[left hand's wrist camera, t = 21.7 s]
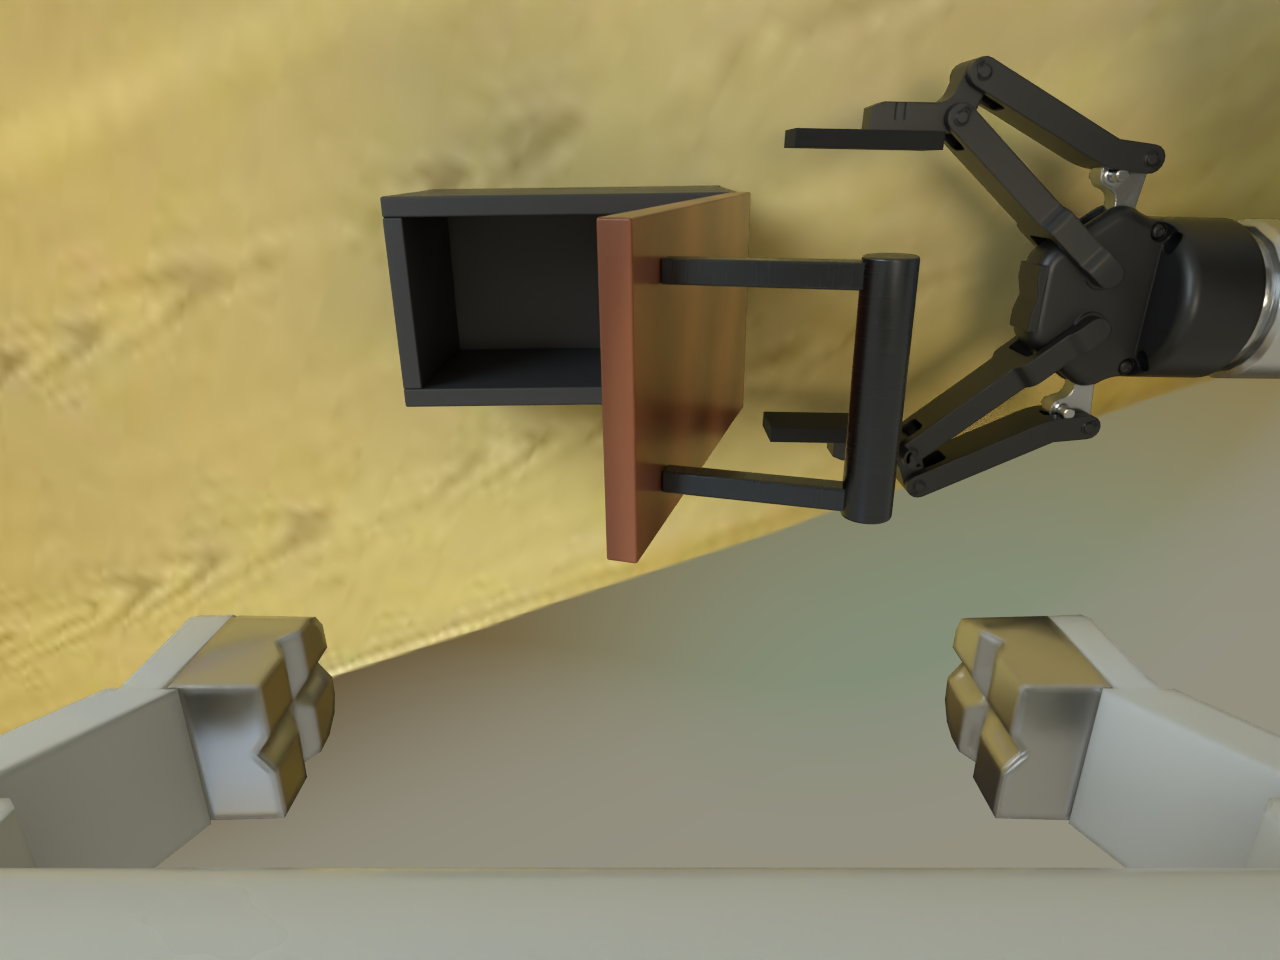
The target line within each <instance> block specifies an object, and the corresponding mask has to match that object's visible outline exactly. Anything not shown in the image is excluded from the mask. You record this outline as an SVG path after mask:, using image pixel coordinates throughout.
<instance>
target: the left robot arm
mask: <svg viewBox="0 0 1280 960" xmlns="http://www.w3.org/2000/svg"><path fill="white" fill-rule="evenodd" d="M326 648H327V644H326V640H325V635H324V630H323V625H322V624H321V623H320V622H319V621H318V619H317V618H316V617H285V616H235V615H207V616H196V617H190V618H189V619H188V620H187V621H186V622H185V623H184V624H183V625H182V626H181V627H180V628H179V629H178V630H177V631H176V632H175V633H174V634H173V635H172V636H171V637H170V638H169V639H168V640H167V641H166V642H165V643H164V644H163V645H162V646H161V647H160V648H159V649H158V650H157V651H156V652H155V653H154V654H153V655H152V656H151V657H150V658H149V659H148V660H147V661H146V662H145V663H144V664H143V665H142V666H141V667H140V668H139V669H138V670H137V671H136V672H135V673H134V674H133V675H132V676H131V677H130V678H129V679H128V680H127V681H126V682H125V683H124V684H123V685H122V686H121V687H120V688H119V689H104V690H102V691H99V692H97V693H95V694H93V695H90V696H88V697H86V698H84V699H81V700H79V701H77V702H74V703H72V704H70V705H68V706H65V707H63V708H61V709H59V710H56V711H54V712H52V713H50V714H47V715H45V716H43V717H40V718H38V719H36V720H34V721H31V722H29V723H27V724H25V725H22V726H20V727H18V728H15V729H13V730H11V731H9V732H6V733H4V734H2V735H0V960H1280V735H1278V734H1275V733H1273V732H1271V731H1269V730H1267V729H1264V728H1262V727H1260V726H1257V725H1255V724H1253V723H1251V722H1248V721H1246V720H1244V719H1242V718H1239V717H1237V716H1235V715H1232V714H1230V713H1228V712H1226V711H1224V710H1221V709H1219V708H1217V707H1214V706H1212V705H1210V704H1208V703H1205V702H1203V701H1201V700H1199V699H1196V698H1194V697H1192V696H1189V695H1187V694H1185V693H1183V692H1180V691H1178V690H1176V689H1161V688H1160V687H1159V686H1158V685H1157V684H1156V683H1155V682H1154V681H1153V680H1152V679H1151V678H1150V677H1149V676H1148V675H1147V674H1146V673H1145V672H1144V671H1143V670H1142V669H1141V668H1140V667H1139V666H1138V665H1137V664H1136V663H1135V662H1134V661H1133V660H1132V659H1131V658H1130V657H1129V656H1128V655H1127V654H1126V653H1125V652H1124V651H1123V650H1122V649H1121V648H1120V647H1119V646H1118V645H1117V644H1116V643H1115V642H1114V641H1113V640H1112V639H1111V638H1110V637H1109V636H1108V635H1107V634H1106V633H1105V632H1104V631H1103V630H1102V629H1101V628H1100V627H1099V626H1098V625H1097V624H1096V623H1095V622H1094V621H1093V620H1092V619H1091V618H1088V617H1086V616H1083V615H1061V616H1028V617H989V618H988V617H987V618H964V619H961V621H960V623H959V625H958V627H957V629H956V633H955V639H954V644H953V648H954V650H955V651H956V653H957V655H958V656H959V658H960V659H961V661H962V663H961V664H960V665H959V666H958V667H957V668H956V669H955V671H953V672H952V674H951V675H950V676H949V677H948V680H947V688H946V696H945V705H946V717H947V723H948V727H949V730H950V733H951V737H952V739H953V741H954V742H955V744H956V746H957V748H958V750H959V752H961V753H962V754H964V755H965V756H967V757H969V758H970V759H972V760H973V761H975V762H976V764H975V769H974V775H973V778H974V780H975V782H976V783H977V785H978V787H979V789H980V791H981V793H982V794H983V796H984V798H985V800H986V802H987V803H988V805H989V807H990V809H991V811H992V812H993V814H994V816H995V818H1013V819H1049V820H1069V824H1070V825H1072V826H1073V827H1074V828H1075V829H1077V830H1078V831H1079V832H1081V833H1082V834H1083V835H1084V836H1086V837H1087V838H1088V839H1089V840H1091V841H1092V842H1093V843H1095V844H1096V845H1097V846H1098V847H1100V848H1101V849H1102V850H1104V851H1105V852H1106V853H1107V854H1109V855H1110V856H1111V857H1112V858H1114V859H1115V860H1116V861H1118V862H1119V863H1120V864H1121V865H1123V866H1124V867H1125V868H155V867H156V866H158V865H159V864H160V863H161V862H163V861H164V860H165V859H167V858H168V857H169V856H170V855H172V854H173V853H174V852H175V851H177V850H178V849H179V848H181V847H182V846H183V845H184V844H186V843H187V842H188V841H189V840H191V839H192V838H193V837H195V836H196V835H197V834H198V833H200V832H201V831H202V830H204V829H205V828H206V827H207V826H209V825H210V824H211V821H210V820H231V819H266V818H285V816H286V814H287V813H288V811H289V809H290V807H291V805H292V803H293V802H294V800H295V798H296V796H297V794H298V793H299V791H300V789H301V787H302V785H303V783H304V782H305V780H306V778H307V775H306V769H305V764H304V762H305V761H307V760H309V759H310V758H312V757H313V756H315V755H316V754H318V753H319V752H321V750H322V748H323V746H324V744H325V742H326V740H327V738H328V736H329V734H330V730H331V725H332V721H333V716H334V705H335V693H334V687H333V680H332V677H331V676H330V675H329V673H328V672H327V671H326V670H325V669H324V668H323V667H322V666H321V665H320V664H319V663H318V661H319V659H320V658H321V656H322V655H323V653H324V651H325V650H326Z"/></svg>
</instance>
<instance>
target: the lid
mask: <svg viewBox="0 0 1280 960" xmlns="http://www.w3.org/2000/svg"><path fill="white" fill-rule="evenodd" d="M750 196H751V194H750V192H730V193H724V194H719V195H714V196H708V197H703V198H698V199H693V200H687V201H682V202H677V203H671V204H666V205H661V206H655V207H650V208H645V209H640V210H634V211H629V212H624V213H618V214H613V215H608V216H603V217H598V218H597V251H598V283H599V315H600V347H601V379H602V411H603V443H604V475H605V507H606V539H607V559H608V560H615V561H623V562H630V563H637V562H638V561H639V559H640V558H641V556H642V555H643V553H644V552H645V550H646V549H647V547H648V546H649V544H650V543H651V541H652V540H653V538H654V537H655V535H656V534H657V533H658V531H659V530H660V528H661V527H662V525H663V524H664V522H665V521H666V519H667V518H668V516H669V515H670V513H671V512H672V510H673V509H674V507H675V506H676V505H677V503H678V502H679V500H680V499H681V497H682V496H683V494H686V495H695V496H704V497H714V498H723V499H733V500H742V501H752V502H761V503H770V504H780V505H789V506H799V507H808V508H817V509H827V510H836V511H840V512H841V514H842V516H843V517H845V518H846V519H848V520H851V521H853V522H857V523H862V524H880V523H884V522H887V521H888V520H889V519H890V518H891V516H892V507H893V498H894V489H895V480H896V471H897V463H898V454H899V445H900V436H901V427H902V418H903V409H904V400H905V391H906V382H907V373H908V364H909V355H910V346H911V337H912V328H913V319H914V310H915V301H916V292H917V283H918V274H919V265H920V257H919V256H917V255H913V254H903V253H872V254H866V255H863V257H862V260H843V259H794V258H748V253H749V225H750ZM747 287H765V288H797V289H830V290H859V299H858V310H857V322H856V334H855V345H854V357H853V369H852V380H851V392H850V404H849V415H848V427H847V439H846V450H845V462H844V474H843V481H834V480H823V479H813V478H803V477H792V476H782V475H771V474H761V473H751V472H740V471H730V470H719V469H709V468H702V466H703V465H704V463H705V462H706V460H707V459H708V457H709V456H710V454H711V453H712V451H713V450H714V448H715V447H716V445H717V444H718V443H719V441H720V440H721V438H722V437H723V435H724V434H725V432H726V431H727V429H728V428H729V426H730V425H731V423H732V422H733V420H734V419H735V417H736V416H737V414H738V413H739V412H740V410H741V409H742V407H743V395H744V366H745V338H746V310H747Z"/></svg>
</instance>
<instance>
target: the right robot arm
mask: <svg viewBox="0 0 1280 960" xmlns="http://www.w3.org/2000/svg"><path fill="white" fill-rule="evenodd" d="M978 106H981V107H983V108H984V109H986V110H987V111H989V112H991V113H992V114H994V115H995V116H997V117H999V118H1000V119H1002V120H1003V121H1005V122H1007V123H1008V124H1010V125H1011V126H1013V127H1015V128H1016V129H1018V130H1019V131H1021V132H1022V133H1024V134H1026V135H1027V136H1029V137H1030V138H1032V139H1034V140H1035V141H1037V142H1038V143H1040V144H1042V145H1043V146H1045V147H1046V148H1048V149H1050V150H1051V151H1053V152H1054V153H1056V154H1058V155H1059V156H1061V157H1062V158H1064V159H1066V160H1067V161H1069V162H1071V163H1073V164H1075V165H1078V166H1081V167H1083V168H1088V169H1092V170H1091V171H1090V173H1089V178H1090V181H1091V183H1092V185H1093V186H1094V187H1096V188H1098V189H1100V190H1101V191H1102V192H1103V193H1104V196H1105V202H1104V205H1103V206H1100V207H1097V208H1095V209H1094V210H1092V211H1090V212H1089V213H1087V214H1086V215H1084V216H1083V217H1081V218H1080V219H1078V218H1077V217H1076V216H1075V215H1074V214H1073V213H1072V212H1071V211H1070V210H1069V209H1067V208H1065V207H1063V206H1062V205H1061V204H1060V203H1059V202H1058V201H1057V200H1056V199H1055V198H1054V197H1053V196H1052V194H1051V193H1050V192H1049V191H1048V190H1047V189H1046V188H1045V187H1044V185H1043V184H1042V183H1041V182H1040V181H1039V180H1038V179H1037V178H1036V177H1035V175H1034V174H1033V173H1032V172H1031V171H1030V170H1029V169H1028V168H1027V166H1026V165H1025V164H1024V163H1023V162H1022V161H1021V160H1020V159H1019V158H1018V156H1017V155H1016V154H1015V153H1014V152H1013V151H1012V150H1011V149H1010V147H1009V146H1008V145H1007V144H1006V143H1005V142H1004V141H1003V140H1002V139H1001V137H1000V136H999V135H998V134H997V133H996V132H995V131H994V130H993V128H992V127H991V126H990V125H989V124H988V123H987V122H986V121H985V120H984V118H983V117H982V116H981V115H980V114H979V113H978V112H977V111H976V110H977V108H978ZM944 144H945V145H946V146H947V147H948V148H949V149H950V150H951V152H952V153H953V154H954V155H955V156H956V157H957V158H958V159H959V160H960V161H961V162H962V164H963V165H964V166H965V167H966V168H967V169H968V170H969V171H970V172H971V173H972V174H973V175H974V177H975V178H976V179H977V180H978V181H979V182H980V183H981V184H982V185H983V186H984V187H985V188H986V190H987V191H988V192H989V193H990V194H991V195H992V196H993V197H994V198H995V199H996V200H997V202H998V203H999V204H1000V205H1001V206H1002V207H1003V208H1004V209H1005V210H1006V211H1007V212H1008V213H1009V215H1010V216H1011V217H1012V218H1013V219H1014V220H1015V221H1016V223H1017V227H1018V228H1019V229H1020V231H1021V232H1022V233H1023V234H1024V235H1025V236H1026V237H1027V238H1028V239H1029V240H1030V241H1031V243H1032V244H1033V245H1034V246H1035V247H1036V248H1035V249H1034V250H1033V251H1032V252H1031V253H1030V255H1029V256H1028V258H1027V260H1026V261H1021V266H1020V271H1019V290H1020V293H1019V296H1018V298H1017V300H1016V302H1015V305H1014V307H1013V309H1012V314H1011V320H1010V325H1012V326H1014V330H1015V334H1016V336H1015V337H1014V338H1012V339H1011V340H1010V341H1008V342H1007V343H1005V344H1004V345H1003V346H1001V347H1000V348H998V349H997V350H996V351H995V352H994V354H993V357H992V358H991V359H990V360H989V361H987V362H986V363H984V364H983V365H982V366H980V367H979V368H977V369H976V370H974V371H973V372H972V373H970V374H969V375H967V376H966V377H965V378H963V379H962V380H960V381H959V382H958V383H956V384H955V385H953V386H952V387H951V388H949V389H948V390H946V391H945V392H944V393H942V394H941V395H939V396H938V397H937V398H935V399H934V400H932V401H931V402H930V403H928V404H927V405H925V406H924V407H923V408H921V409H920V410H918V411H917V412H916V413H914V414H913V415H911V416H910V417H909V418H907V419H906V420H904V421H903V422H902V427H901V436H900V445H899V454H898V463H897V471H896V478H897V480H898V481H899V482H900V483H901V484H902V486H903V487H904V488H905V489H906V490H907V492H908V493H909V494H910V495H911V496H913V497H922V496H925V495H927V494H929V493H932V492H934V491H936V490H939V489H941V488H944V487H946V486H949V485H951V484H953V483H956V482H958V481H961V480H963V479H966V478H968V477H970V476H973V475H975V474H978V473H980V472H982V471H985V470H987V469H990V468H992V467H994V466H997V465H999V464H1002V463H1004V462H1006V461H1009V460H1011V459H1014V458H1016V457H1018V456H1021V455H1023V454H1026V453H1028V452H1031V451H1033V450H1035V449H1038V448H1040V447H1043V446H1045V445H1047V444H1050V443H1052V442H1060V441H1071V440H1082V439H1089V438H1092V437H1094V436H1095V435H1096V434H1097V433H1098V432H1099V429H1100V421H1099V420H1098V419H1097V418H1096V417H1094V416H1092V415H1091V405H1092V397H1093V388H1094V384H1096V383H1098V382H1100V381H1102V380H1104V379H1107V378H1110V377H1114V376H1138V377H1203V376H1207V375H1208V376H1210V377H1213V378H1279V379H1280V219H1239V220H1236V221H1234V220H1232V219H1227V218H1193V217H1148V216H1145V215H1143V214H1141V213H1140V212H1138V211H1137V210H1136V209H1135V207H1136V204H1137V201H1138V198H1139V195H1140V192H1141V189H1142V186H1143V183H1144V180H1145V177H1146V174H1149V173H1154V172H1156V171H1157V170H1158V169H1159V168H1161V167H1162V165H1163V163H1164V161H1165V152H1164V150H1163V148H1162V147H1161V146H1158V145H1155V144H1149V143H1142V142H1135V141H1129V140H1122V139H1119V138H1117V137H1116V136H1114V135H1112V134H1111V133H1109V132H1108V131H1106V130H1105V129H1103V128H1102V127H1100V126H1098V125H1097V124H1095V123H1094V122H1092V121H1091V120H1089V119H1087V118H1086V117H1084V116H1083V115H1081V114H1080V113H1078V112H1077V111H1075V110H1073V109H1072V108H1070V107H1069V106H1067V105H1066V104H1064V103H1063V102H1061V101H1059V100H1058V99H1056V98H1055V97H1053V96H1052V95H1050V94H1048V93H1047V92H1045V91H1044V90H1042V89H1041V88H1039V87H1038V86H1036V85H1034V84H1033V83H1031V82H1030V81H1028V80H1027V79H1025V78H1024V77H1022V76H1020V75H1019V74H1017V73H1016V72H1014V71H1013V70H1011V69H1009V68H1008V67H1006V66H1005V65H1003V64H1002V63H1000V62H999V61H997V60H995V59H994V58H992V57H989V56H983V57H979V58H976V59H973V60H970V61H966V62H963V63H960V64H959V65H957V66H956V67H955V68H954V69H953V70H952V72H951V75H950V83H949V85H948V87H947V90H946V92H945V93H944V95H943V97H942V98H941V99H940V100H939V101H937V102H936V103H930V102H881V103H877V104H874V105H871V106H869V107H866V108H864V115H863V124H862V129H815V128H794V129H790V130H786V131H785V144H784V148H815V149H865V150H915V151H926V150H943V145H944ZM1055 372H1056V373H1057V374H1058V375H1059V376H1060V377H1062V378H1064V379H1065V384H1064V386H1063V388H1062V389H1061V390H1060V391H1058V392H1057V393H1054V394H1051V395H1049V396H1045V397H1044V398H1043V399H1042V401H1041V403H1042V405H1038V406H1032V407H1029V408H1025V409H1022V410H1019V411H1017V412H1014V413H1012V414H1009V415H1007V416H1005V417H1002V418H1000V419H998V420H995V421H993V422H991V423H988V424H986V425H984V426H981V427H979V428H976V429H974V430H972V431H969V432H967V433H965V434H962V435H960V436H958V437H955V436H956V435H957V434H959V433H960V432H962V431H963V430H965V429H966V428H968V427H969V426H970V425H972V424H973V423H975V422H976V421H978V420H979V419H980V418H982V417H983V416H985V415H986V414H988V413H989V412H991V411H992V410H993V409H995V408H996V407H998V406H999V405H1001V404H1002V403H1003V402H1005V401H1006V400H1008V399H1009V398H1011V397H1012V396H1014V395H1015V394H1016V393H1018V392H1019V391H1021V390H1022V389H1024V388H1026V387H1032V386H1035V385H1037V384H1039V383H1041V382H1042V381H1044V380H1045V379H1047V378H1048V377H1049V376H1051V375H1052V374H1054V373H1055ZM848 415H849V413H808V412H764V414H763V427H764V429H765V431H766V434H767V436H768V438H769V440H770V442H814V443H827V448H828V450H829V451H830V453H831V454H832V456H833V457H836V458H838V459H840V460H845V450H846V439H847V427H848ZM953 437H955V438H953ZM952 438H953V439H952ZM950 439H951V440H950Z"/></svg>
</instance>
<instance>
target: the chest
mask: <svg viewBox="0 0 1280 960" xmlns="http://www.w3.org/2000/svg"><path fill="white" fill-rule="evenodd" d="M730 192H735V191H732V190H729V189H725V188H722V187H720V186H650V187H577V188H505V189H432V190H428V191H421V192H413V193H406V194H398V195H391V196H383V197H381V199H380V200H381V208H382V216H383V217H384V218H383V225H384V233H385V241H386V250H387V258H388V266H389V274H390V282H391V290H392V298H393V306H394V314H395V322H396V330H397V338H398V346H399V354H400V362H401V370H402V378H403V386H404V395H405V403H406V406H407V407H424V406H504V405H584V404H602V379H601V347H600V315H599V283H598V251H597V218H598V217H603V216H608V215H613V214H618V213H624V212H629V211H634V210H640V209H645V208H650V207H655V206H661V205H666V204H671V203H677V202H682V201H687V200H693V199H698V198H703V197H708V196H714V195H719V194H724V193H730Z"/></svg>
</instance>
